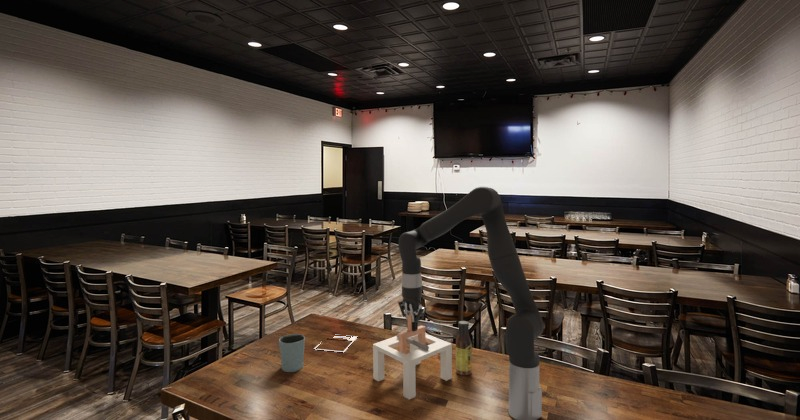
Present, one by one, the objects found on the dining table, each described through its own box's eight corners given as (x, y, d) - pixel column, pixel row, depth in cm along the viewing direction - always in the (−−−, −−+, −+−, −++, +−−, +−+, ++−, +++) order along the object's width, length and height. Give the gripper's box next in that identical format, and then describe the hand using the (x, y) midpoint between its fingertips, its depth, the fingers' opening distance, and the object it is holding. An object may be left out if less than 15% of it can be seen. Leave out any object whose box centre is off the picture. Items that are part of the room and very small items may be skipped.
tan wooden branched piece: (420, 351, 158) (419, 308, 156) (429, 355, 154) (429, 311, 153) (395, 361, 149) (394, 316, 148) (404, 365, 145) (403, 320, 144)
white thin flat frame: (358, 336, 193) (343, 351, 175) (358, 338, 193) (343, 354, 175) (329, 333, 196) (313, 348, 179) (329, 335, 196) (313, 351, 179)
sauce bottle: (471, 377, 153) (471, 326, 151) (455, 375, 154) (454, 325, 153) (471, 369, 159) (472, 320, 158) (456, 367, 160) (456, 319, 159)
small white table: (415, 361, 167) (414, 325, 166) (451, 378, 152) (451, 339, 151) (373, 378, 152) (372, 340, 151) (409, 399, 137) (408, 357, 136)
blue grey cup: (275, 371, 159) (274, 342, 158) (287, 360, 169) (287, 332, 168) (298, 374, 157) (297, 344, 156) (310, 362, 166) (309, 334, 166)
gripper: (432, 286, 147) (432, 332, 148) (406, 279, 157) (407, 322, 158) (417, 290, 142) (417, 337, 143) (392, 283, 152) (392, 327, 153)
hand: (412, 329), depth 151 cm, fingers closed on tan wooden branched piece
